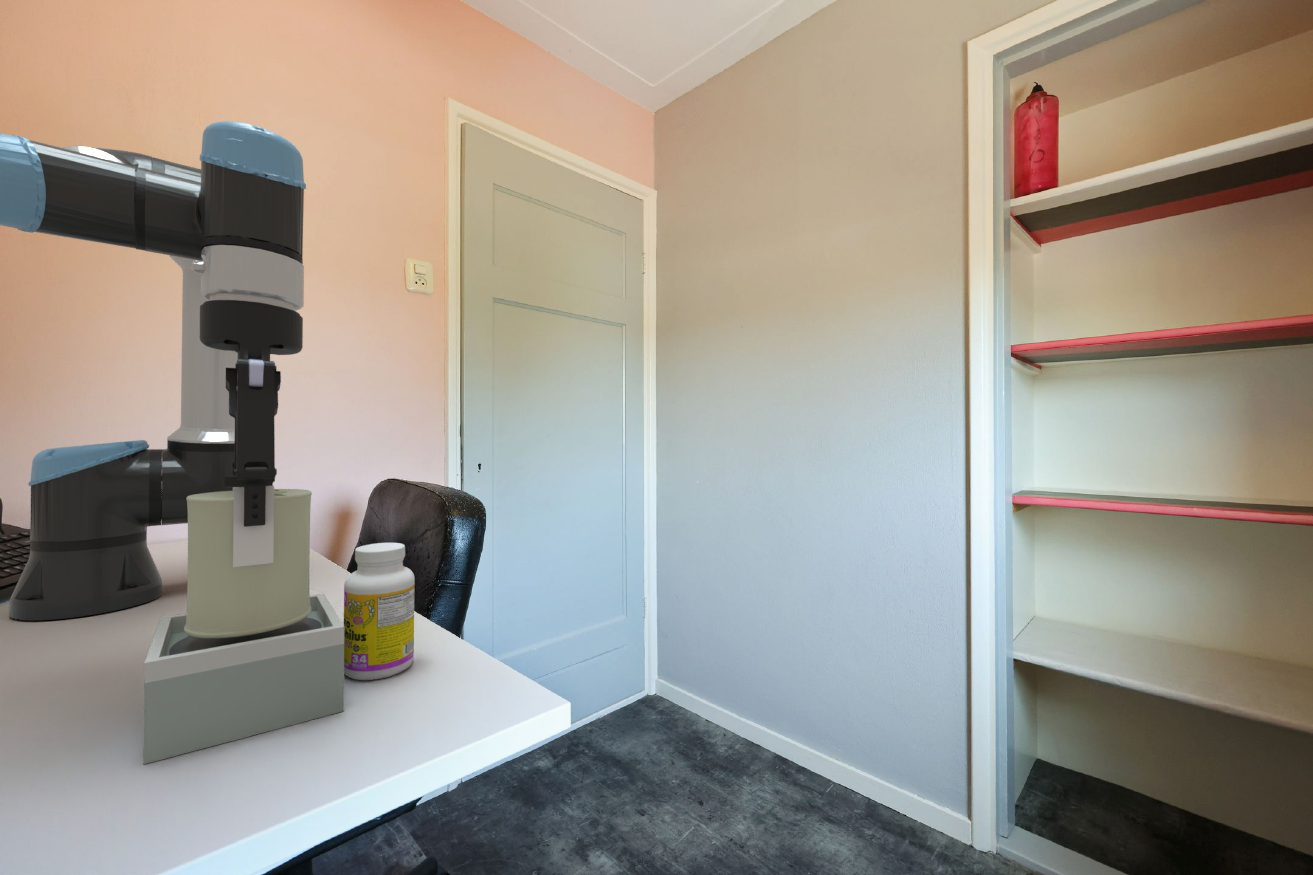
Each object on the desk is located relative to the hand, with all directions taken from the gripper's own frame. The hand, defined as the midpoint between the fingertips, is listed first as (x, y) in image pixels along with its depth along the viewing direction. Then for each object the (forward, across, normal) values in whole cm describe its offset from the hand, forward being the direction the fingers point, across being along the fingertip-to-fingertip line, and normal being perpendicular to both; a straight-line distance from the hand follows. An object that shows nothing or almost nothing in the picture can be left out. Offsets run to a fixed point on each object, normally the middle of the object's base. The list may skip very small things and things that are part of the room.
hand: (251, 554), depth 49 cm
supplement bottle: (+14, -2, +11) cm, 18 cm away
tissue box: (+14, 0, 0) cm, 14 cm away
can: (+6, 0, 0) cm, 6 cm away
